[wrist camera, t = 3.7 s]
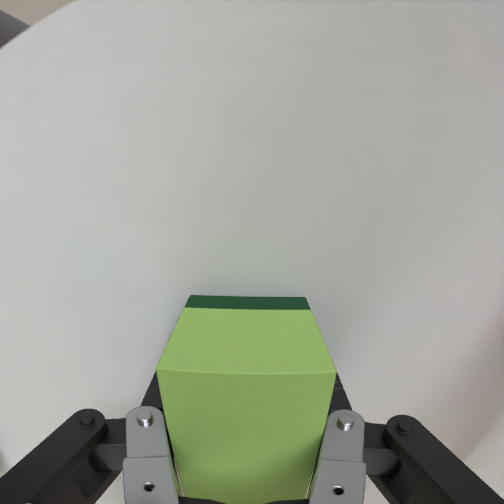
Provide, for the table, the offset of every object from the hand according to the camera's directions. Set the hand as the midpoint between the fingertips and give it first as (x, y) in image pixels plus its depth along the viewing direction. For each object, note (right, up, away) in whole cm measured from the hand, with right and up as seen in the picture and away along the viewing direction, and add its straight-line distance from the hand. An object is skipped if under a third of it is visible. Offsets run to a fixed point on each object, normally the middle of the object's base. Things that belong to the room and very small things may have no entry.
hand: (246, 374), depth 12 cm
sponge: (0, 0, 0) cm, 0 cm away
